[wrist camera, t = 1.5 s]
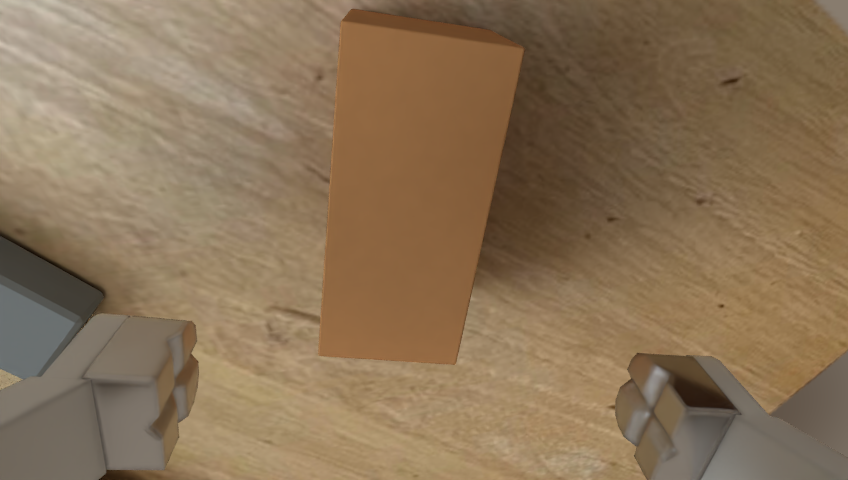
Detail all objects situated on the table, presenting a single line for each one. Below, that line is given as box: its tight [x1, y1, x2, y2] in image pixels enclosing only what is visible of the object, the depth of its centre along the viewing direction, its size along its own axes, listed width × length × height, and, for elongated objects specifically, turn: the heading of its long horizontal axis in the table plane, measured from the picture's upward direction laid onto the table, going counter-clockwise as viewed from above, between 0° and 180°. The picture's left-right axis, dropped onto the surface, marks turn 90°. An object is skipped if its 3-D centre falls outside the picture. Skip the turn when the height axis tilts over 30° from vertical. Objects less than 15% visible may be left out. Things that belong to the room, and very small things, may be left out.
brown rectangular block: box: [318, 9, 525, 365], centre depth 17 cm, size 10×4×4 cm, turn 172°
